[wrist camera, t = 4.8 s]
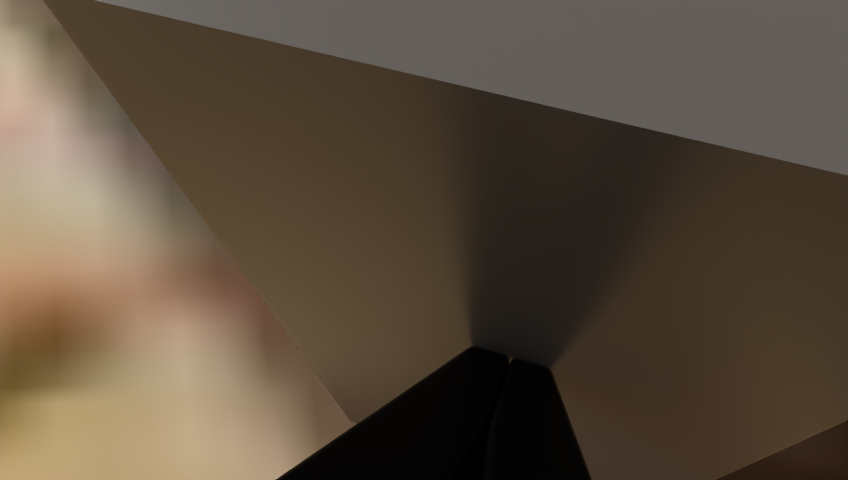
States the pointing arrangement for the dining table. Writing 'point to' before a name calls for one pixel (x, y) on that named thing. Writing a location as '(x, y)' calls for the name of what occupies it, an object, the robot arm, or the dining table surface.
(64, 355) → the dining table surface
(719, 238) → the tile
